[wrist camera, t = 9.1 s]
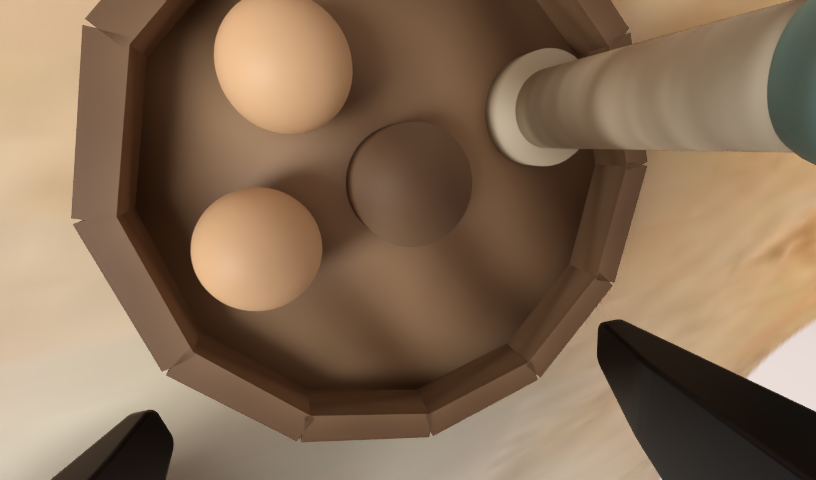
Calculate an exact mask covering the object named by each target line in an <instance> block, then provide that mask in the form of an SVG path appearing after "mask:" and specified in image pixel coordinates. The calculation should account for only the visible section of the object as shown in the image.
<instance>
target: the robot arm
mask: <svg viewBox="0 0 816 480" xmlns="http://www.w3.org/2000/svg"><path fill="white" fill-rule="evenodd" d="M597 358H598V362H599V365H600V367H601V369H602V371H603V373H604V375H605V377H606V379H607V381H608V383H609V385H610V387H611V389H612V391H613V393H614V395H615V397H616V399H617V401H618V403H619V405H620V407H621V409H622V411H623V413H624V415H625V417H626V419H627V421H628V423H629V425H630V427H631V429H632V431H633V433H634V435H635V437H636V438H637V440H638V442H639V443H640V445H641V447H642V448H643V450H644V451H645V453H646V455H647V456H648V458H649V459H650V461H651V462H652V464H653V466H654V467H655V469H656V470H657V472H658V473H659V475H660V477H661V478H662V480H816V412H815V411H813V410H811V409H809V408H807V407H805V406H803V405H801V404H799V403H796V402H794V401H792V400H790V399H788V398H786V397H784V396H782V395H779V394H777V393H775V392H773V391H771V390H769V389H767V388H765V387H762V386H760V385H758V384H756V383H754V382H752V381H750V380H748V379H746V378H744V377H742V376H740V375H737V374H735V373H733V372H731V371H729V370H727V369H725V368H723V367H721V366H718V365H716V364H714V363H712V362H710V361H708V360H706V359H704V358H702V357H700V356H697V355H695V354H693V353H691V352H689V351H687V350H685V349H683V348H681V347H678V346H676V345H674V344H672V343H670V342H668V341H666V340H664V339H662V338H659V337H657V336H655V335H653V334H651V333H649V332H647V331H645V330H643V329H641V328H638V327H636V326H634V325H632V324H630V323H628V322H626V321H623V320H612V321H607V322H603V323H601V324H600V325H599V327H598V342H597ZM173 445H174V443H173V437H172V435H171V433H170V432H169V430H168V428H167V427H166V425H165V424H164V422H163V420H162V419H161V417H160V416H159V414H158V413H157V412H156V411H154V410H146V411H141V412H136V413H133V414H130V415H129V416H127V417H126V418H125V419H124V420H123V421H121V422H120V423H119V424H118V425H116V426H115V427H114V428H113V429H112V430H110V431H109V432H108V433H107V434H106V435H104V436H103V437H102V438H101V439H100V440H98V441H97V442H96V443H95V444H93V445H92V446H91V447H90V448H89V449H87V450H86V451H85V452H84V453H83V454H81V455H80V456H79V457H78V458H76V459H75V460H74V461H73V462H72V463H70V464H69V465H68V466H67V467H66V468H64V469H63V470H62V471H61V472H60V473H58V474H57V475H56V476H55V477H53V478H52V479H51V480H166V477H167V473H168V469H169V464H170V460H171V456H172V452H173Z"/></svg>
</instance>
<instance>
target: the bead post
mask: <svg viewBox="0 0 816 480" xmlns="http://www.w3.org/2000/svg"><path fill="white" fill-rule="evenodd" d="M485 116H486V124H487V129H488V132H489V135H490V137H491V140H492V142H493V143H494V145H495V147H496V148H497V149H498V150H499V152H500V153H502V154H503V155H504V156H505V157H506V158H508V159H509V160H511V161H513V162H515V163H519V164H523V165H533V166H552V165H556V164H559V163H561V162H563V161H565V160H567V159H568V158H570V157H571V156H572V155H573V154H575V153H576V152H577V151H578V149H621V150H682V151H743V152H794V153H796V154H797V155H798V156H800V157H801V158H803V159H805V160H807V161H809V162H811V163H813V164H815V165H816V0H792V1H789V2H785V3H781V4H778V5H774V6H770V7H767V8H763V9H759V10H756V11H752V12H749V13H745V14H741V15H738V16H734V17H730V18H727V19H723V20H719V21H716V22H712V23H709V24H705V25H701V26H698V27H694V28H690V29H687V30H683V31H679V32H676V33H672V34H668V35H665V36H661V37H658V38H654V39H650V40H647V41H643V42H639V43H636V44H632V45H628V46H625V47H621V48H618V49H614V50H610V51H607V52H603V53H599V54H596V55H592V56H588V57H585V58H581V59H577V58H576V57H575V56H573V55H572V54H570V53H568V52H566V51H564V50H561V49H556V48H544V49H540V50H536V51H533V52H530V53H528V54H525V55H522V56H520V57H517V58H515V59H513V60H512V61H510V62H509V63H508V64H506V65H505V66H504V67H503V68H502V69H501V70H500V71H499V73H498V74H497V75H496V77H495V79H494V80H493V82H492V84H491V87H490V89H489V92H488V96H487V100H486V109H485Z"/></svg>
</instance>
